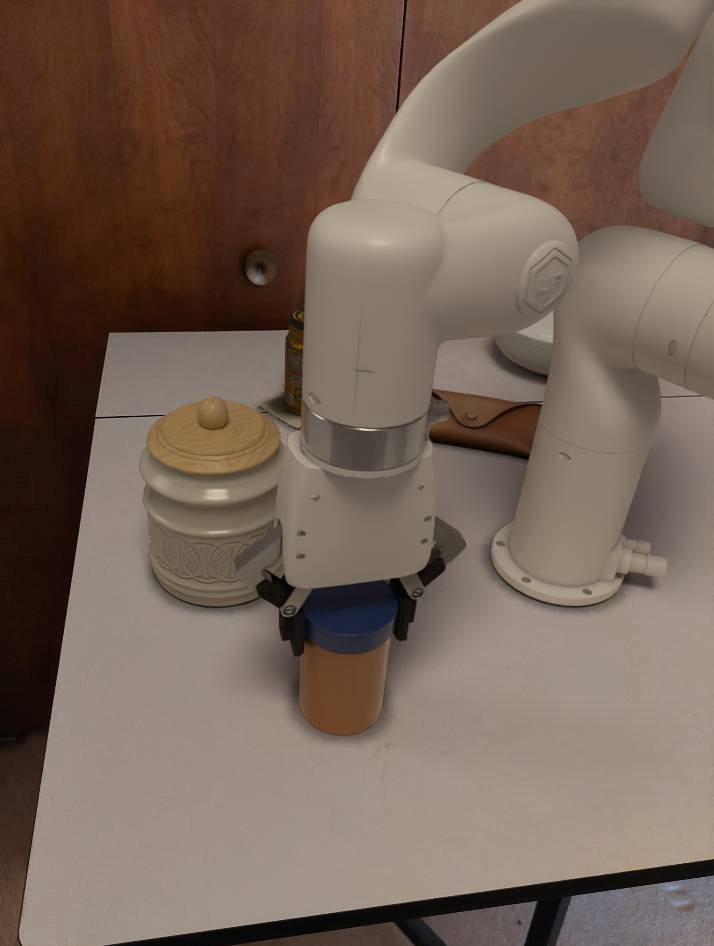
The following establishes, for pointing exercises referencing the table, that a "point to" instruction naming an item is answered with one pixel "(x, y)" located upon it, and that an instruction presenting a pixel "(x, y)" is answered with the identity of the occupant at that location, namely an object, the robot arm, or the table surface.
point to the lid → (351, 616)
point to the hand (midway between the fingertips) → (345, 633)
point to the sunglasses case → (487, 423)
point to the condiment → (291, 375)
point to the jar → (209, 497)
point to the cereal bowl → (530, 345)
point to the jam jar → (342, 687)
